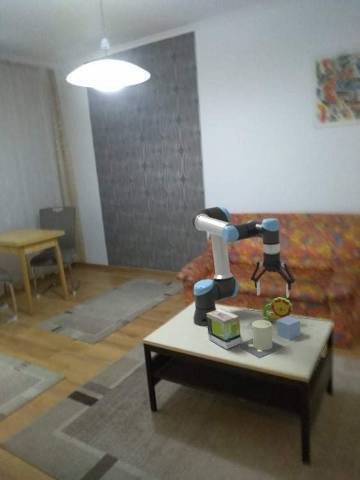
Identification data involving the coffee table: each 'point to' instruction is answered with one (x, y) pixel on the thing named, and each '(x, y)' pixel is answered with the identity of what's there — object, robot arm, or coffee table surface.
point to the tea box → (224, 328)
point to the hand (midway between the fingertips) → (273, 295)
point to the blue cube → (288, 327)
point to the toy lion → (278, 309)
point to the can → (262, 335)
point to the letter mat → (258, 353)
